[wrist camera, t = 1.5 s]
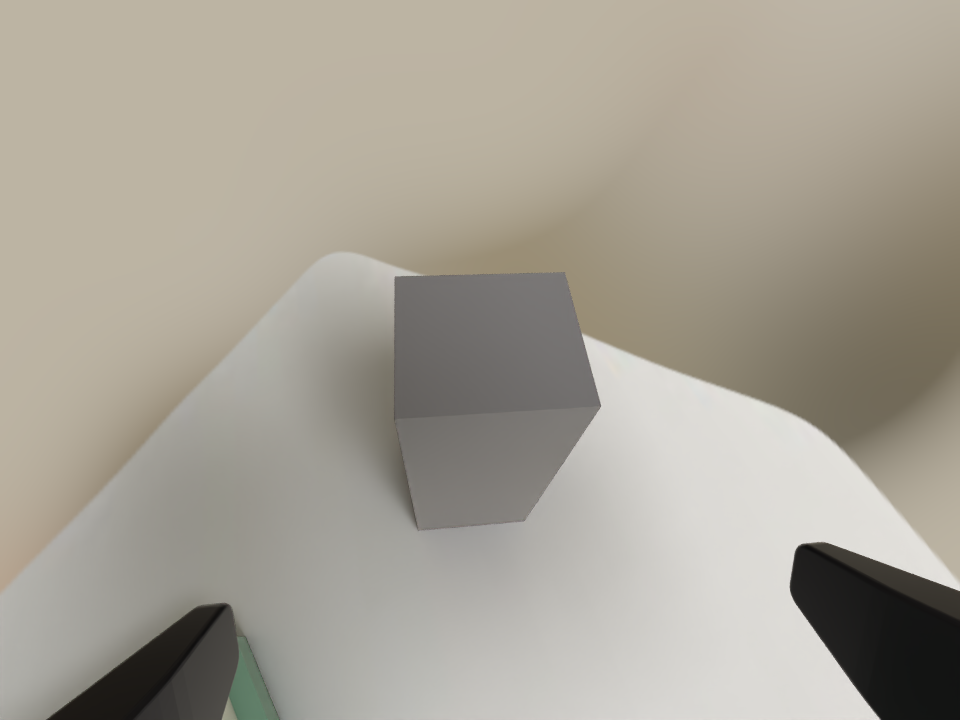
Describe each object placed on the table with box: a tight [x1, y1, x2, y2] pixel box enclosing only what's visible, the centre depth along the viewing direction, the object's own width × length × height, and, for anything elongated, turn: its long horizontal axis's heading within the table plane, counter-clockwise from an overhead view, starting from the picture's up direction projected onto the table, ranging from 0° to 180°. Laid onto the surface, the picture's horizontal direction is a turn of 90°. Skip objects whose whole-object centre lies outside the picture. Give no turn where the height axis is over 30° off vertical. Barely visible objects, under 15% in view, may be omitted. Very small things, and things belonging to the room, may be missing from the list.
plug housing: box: [394, 272, 601, 531], centre depth 15 cm, size 4×4×11 cm
